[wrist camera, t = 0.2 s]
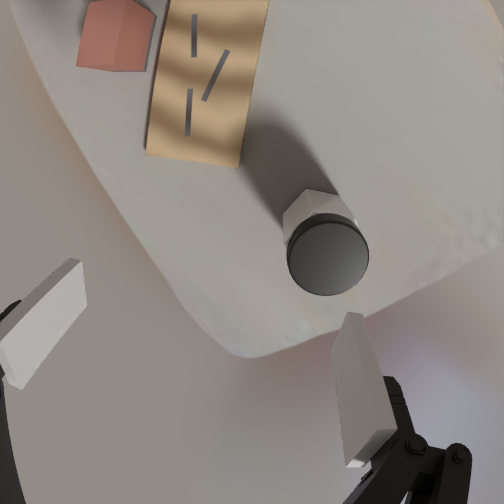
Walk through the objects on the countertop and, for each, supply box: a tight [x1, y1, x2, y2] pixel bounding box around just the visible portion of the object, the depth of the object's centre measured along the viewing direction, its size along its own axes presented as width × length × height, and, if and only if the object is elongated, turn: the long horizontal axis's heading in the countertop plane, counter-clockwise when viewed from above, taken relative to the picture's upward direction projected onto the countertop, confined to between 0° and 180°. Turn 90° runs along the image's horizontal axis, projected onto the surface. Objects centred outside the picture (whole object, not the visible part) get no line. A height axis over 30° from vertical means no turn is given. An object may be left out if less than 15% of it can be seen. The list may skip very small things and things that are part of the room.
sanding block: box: [76, 0, 157, 72], centre depth 28 cm, size 8×5×9 cm, turn 170°
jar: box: [283, 189, 369, 296], centre depth 36 cm, size 9×8×12 cm
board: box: [146, 0, 269, 168], centre depth 34 cm, size 22×12×1 cm, turn 170°
